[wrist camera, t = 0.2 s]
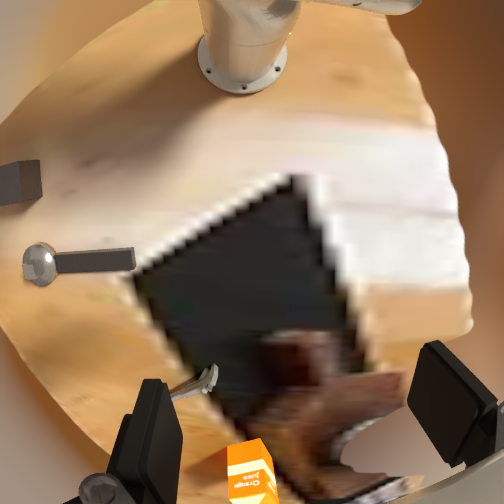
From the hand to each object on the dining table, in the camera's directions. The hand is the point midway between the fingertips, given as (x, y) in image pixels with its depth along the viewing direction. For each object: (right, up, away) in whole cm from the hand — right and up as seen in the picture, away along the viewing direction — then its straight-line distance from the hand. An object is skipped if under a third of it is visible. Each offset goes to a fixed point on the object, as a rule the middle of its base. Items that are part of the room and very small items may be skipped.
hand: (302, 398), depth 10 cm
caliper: (-16, -20, +43) cm, 51 cm away
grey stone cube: (-38, +17, +30) cm, 52 cm away
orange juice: (-2, -40, +50) cm, 64 cm away
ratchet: (-30, +4, +35) cm, 46 cm away
